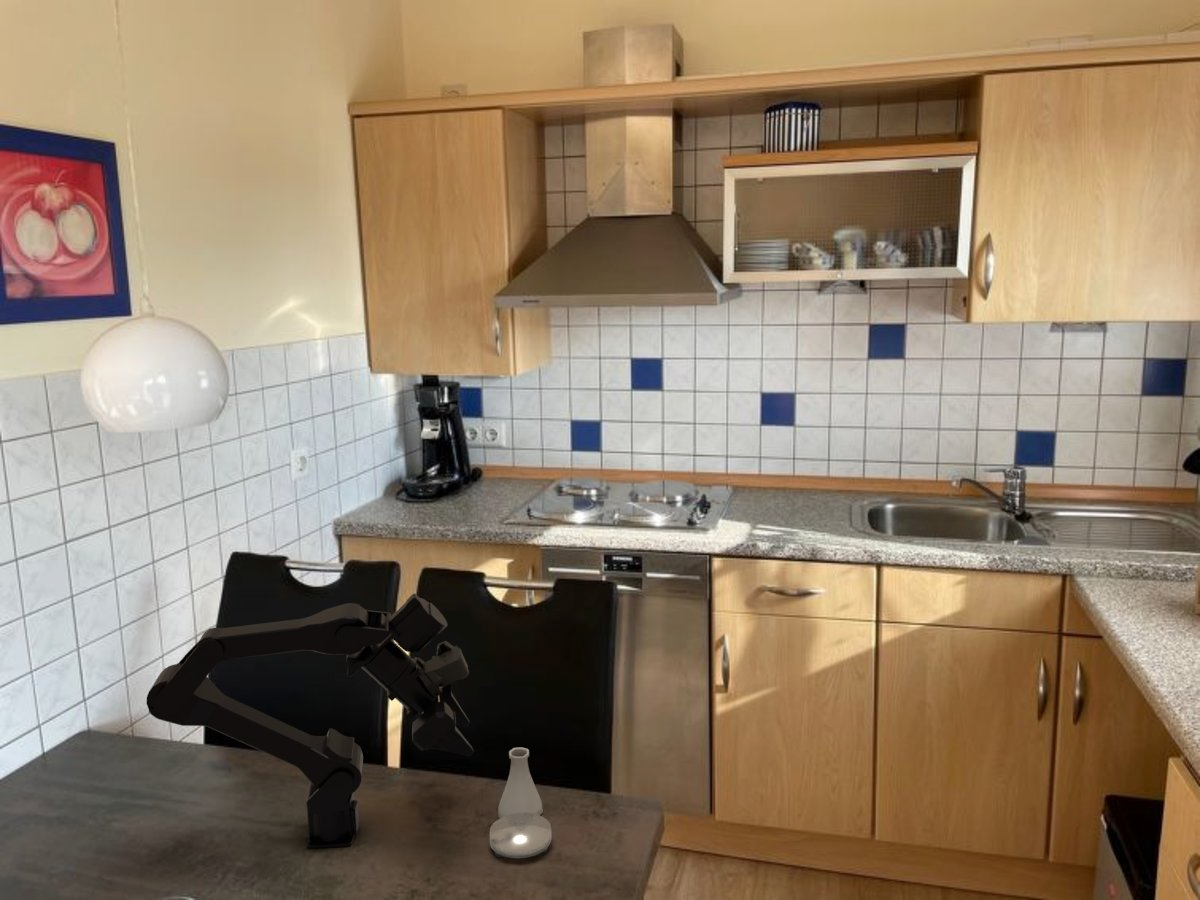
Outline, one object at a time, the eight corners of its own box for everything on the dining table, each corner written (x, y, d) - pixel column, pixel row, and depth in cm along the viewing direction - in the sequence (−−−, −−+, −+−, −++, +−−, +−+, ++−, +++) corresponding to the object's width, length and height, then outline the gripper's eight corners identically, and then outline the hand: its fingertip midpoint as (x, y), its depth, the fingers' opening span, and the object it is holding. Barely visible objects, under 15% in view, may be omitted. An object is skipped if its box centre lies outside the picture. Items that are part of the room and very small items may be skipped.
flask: (536, 827, 139) (535, 766, 137) (491, 822, 140) (489, 761, 139) (548, 801, 146) (547, 742, 144) (505, 796, 147) (503, 738, 146)
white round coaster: (489, 866, 130) (488, 850, 129) (490, 829, 138) (490, 814, 138) (552, 862, 130) (552, 846, 130) (550, 825, 139) (550, 810, 139)
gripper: (439, 659, 126) (515, 730, 130) (435, 612, 144) (502, 676, 148) (379, 715, 126) (458, 785, 130) (382, 661, 144) (451, 724, 148)
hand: (469, 738), depth 139 cm, fingers open, 9 cm apart
